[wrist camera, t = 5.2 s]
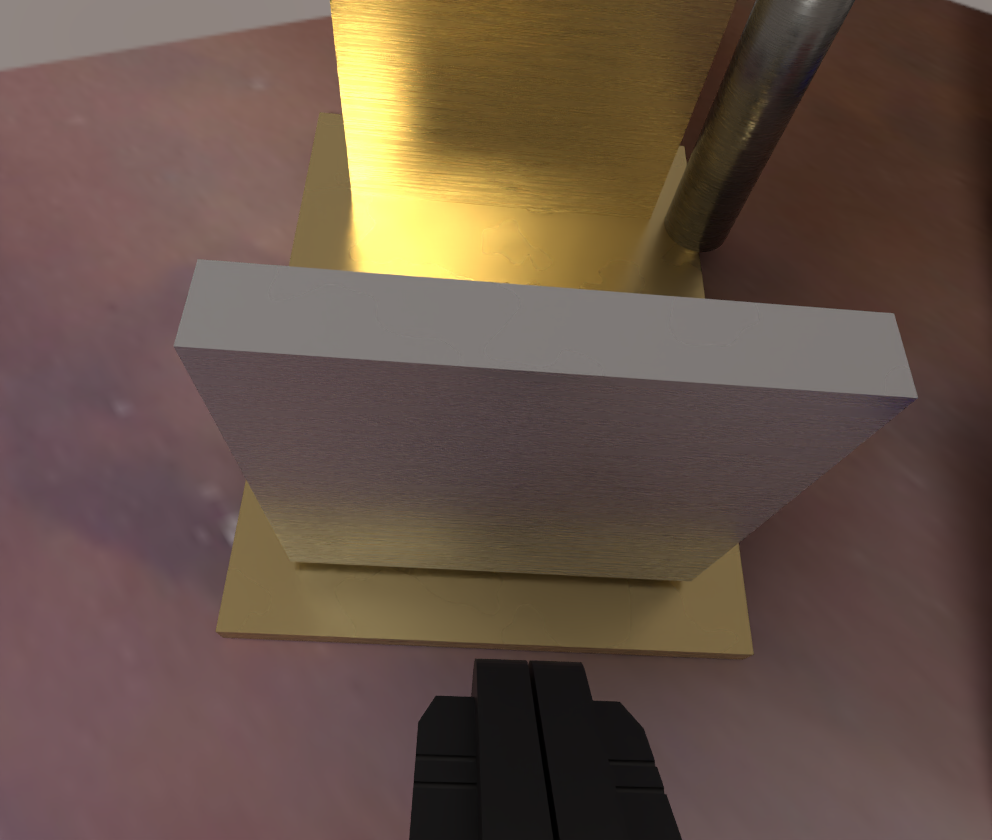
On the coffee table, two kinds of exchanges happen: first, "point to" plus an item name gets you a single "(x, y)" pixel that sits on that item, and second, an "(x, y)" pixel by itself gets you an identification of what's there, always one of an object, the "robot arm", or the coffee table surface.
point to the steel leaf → (526, 415)
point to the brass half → (530, 257)
